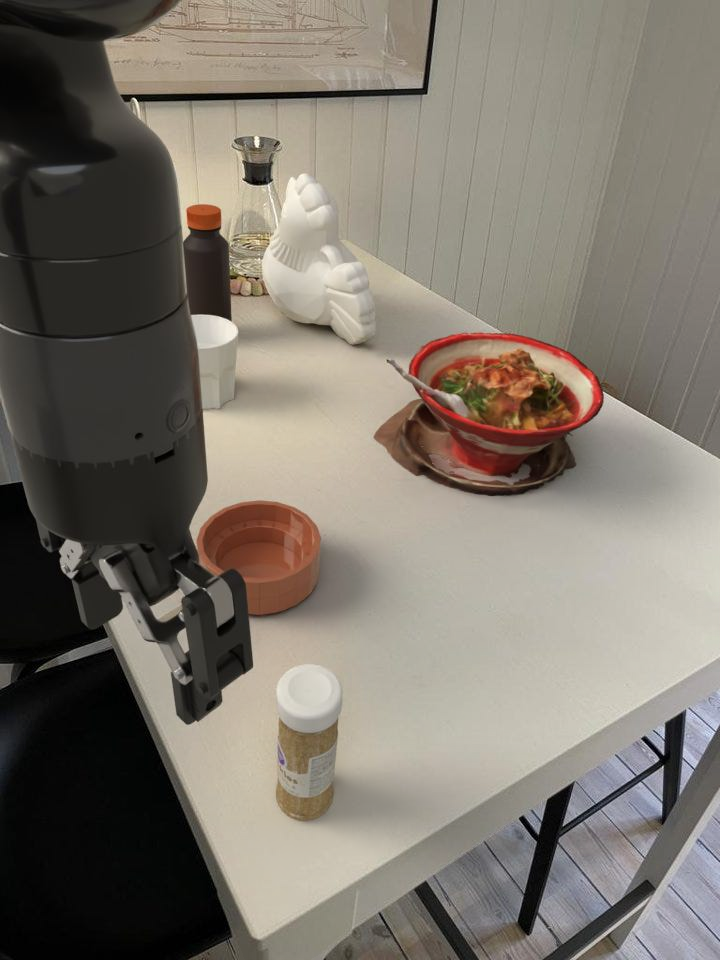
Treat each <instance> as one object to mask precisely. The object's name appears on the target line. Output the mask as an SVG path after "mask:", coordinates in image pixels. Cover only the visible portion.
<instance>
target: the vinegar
mask: <svg viewBox="0 0 720 960" xmlns="http://www.w3.org/2000/svg"><path fill="white" fill-rule="evenodd" d="M185 211H186V213H185V214H186V225H187V228H188V230H189V234H188V235H187V237H185V239H183V248H184V261H185V273H186V286H187V295H188V303H189V308H190V313H191V315H213V316H218V317H222V318H225V319H228V320H229V321H231V322H233V319H232V317H233V315H232V291H231V268H230V267H231V265H230V245H229V242H228V241H227V240H226V238H225V237H224V236H223V235H222V234H221V233H220V232H221V230H222V209H221V208H220V207H218V206H217V205H213V204H205V203H201V204H193V205H190V206H187V208H186V210H185Z"/></svg>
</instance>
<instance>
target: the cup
mask: <svg viewBox="0 0 720 960" xmlns="http://www.w3.org/2000/svg"><path fill="white" fill-rule="evenodd" d="M191 318H192V322H193V326H194V330H195V335H196V340H197V347H198V355H199V367H200V381H201V395H202V407H203V410H208V409H214V410H215V409H216V410H220V409H221V407H222V406H223V405H225V404H226V403H227V402H229V401H233V400H235V384H236V383H235V382H236V367H237V366H236V365H237V364H236V363H237V352H238V341H239V328H238V326H237V325H236V324H235V323H234V322H233V321H232V322H231V321H229V320H228V319H225V318H222V317H218V316H213V315H191Z"/></svg>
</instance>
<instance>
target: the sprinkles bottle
mask: <svg viewBox="0 0 720 960" xmlns="http://www.w3.org/2000/svg"><path fill="white" fill-rule="evenodd" d="M343 690H344V689H343V685H342V682H341V679H339V677H338V676H337V674H336V673H335V672H334V671H332V670H331V669H329V668H328V667H325V666H323V665H320V664H316V663H303V664H299V665H295V666H294V667H292V668H290V669H288V670H287V671H286V672H284V673H283V675H281V677H280V678H279V680H278V682H277V685H276V691H275V709H276V714H277V716H278V736H277V757H276V758H277V759H276V761H277V762H276V774H277V784H276V788H275V798H276V802H277V805H278V807H279V808H280V809H281V811H282V812H283V813H284V814H285V815H286V816H288V817H290V818H291V819H294V820H299V821H308V820H310V821H311V820H313V819H317V818H319V817H320V816H322V815H323V814H324V813H325V812H327V810H328V809H329V808H330V806H331V804H332V802H333V798H334V787H333V783H334V777H335V770H336V761H337V749H338V737H339V717H340V715H341V712H342V707H343V698H344V696H343V694H344V691H343Z"/></svg>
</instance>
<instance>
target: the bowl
mask: <svg viewBox="0 0 720 960" xmlns="http://www.w3.org/2000/svg"><path fill="white" fill-rule="evenodd" d="M321 537H322V536H321V534H320V531H319V528H318V526H317V524H316V523H315V522H314V521H313V520H312V518H310V516H309V515H308V514H307V513H305V512H304V511H302V510H300V509H298V508H296V507H295V506H292V505H289V504H286V503H282V502H279V501H274V500H273V501H271V500H262V499H261V500H251V501H241V502H237V503H235V504H232V505H229V506H226V507H223V508H222V509H220V510H219V511H217V512H215V513H213V514H212V515H210V516H209V518H208V519H207V520H206V521H205V522H204V523H203V524H202V526H201V527H200V528H199V531H198V534H197V538H196V549H197V551H198V555H199V564H200V565H201V566H202V567H204V568H205V569H206V570H208V571H209V572H211V573H212V574H213V575H215V576H218V575H220V574H221V573H223V572H224V571H226V570H228V569H229V568H234V569H235V570H237V571H238V572H239V573H240V574H241V576H242V577H243V579H244V581H245V584H246V590H247V601H248V612H249V615H258V616H259V615H260V616H261V615H269V614H274V613H275V614H276V613H280V612H282V611H285V610H287V609H290V608H293V607H295V606H297V605H298V604H300V603H302V602H303V600H305V599H306V598H307V597H309V596H310V595H311V593H312V592H313V590H314V588H315V587H316V585H317V584H318V581H319V575H320V563H321V544H322V543H321V542H322V538H321Z"/></svg>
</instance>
